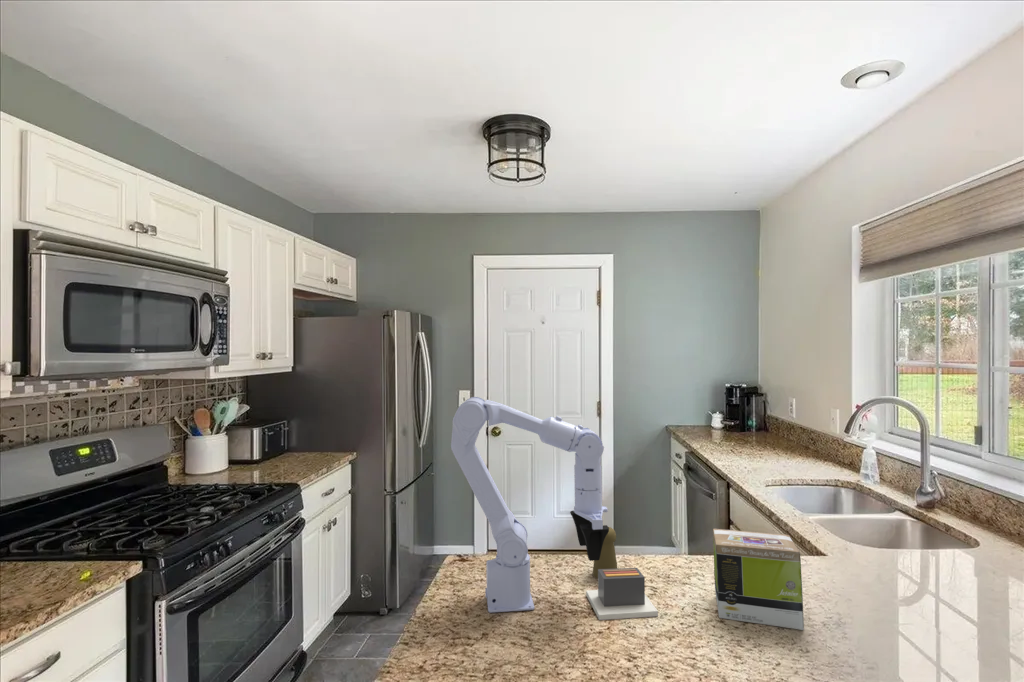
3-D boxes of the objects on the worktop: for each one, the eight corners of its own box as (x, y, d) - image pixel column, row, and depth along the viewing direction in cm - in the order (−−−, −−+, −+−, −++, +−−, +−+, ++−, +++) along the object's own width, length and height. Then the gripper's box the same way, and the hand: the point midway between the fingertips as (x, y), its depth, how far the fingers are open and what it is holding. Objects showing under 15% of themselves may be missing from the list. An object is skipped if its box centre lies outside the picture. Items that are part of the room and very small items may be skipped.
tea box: (792, 606, 100) (791, 533, 101) (804, 632, 91) (802, 552, 91) (713, 595, 105) (712, 526, 106) (717, 619, 96) (715, 543, 96)
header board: (599, 620, 96) (598, 602, 96) (586, 595, 106) (586, 578, 106) (658, 616, 97) (657, 598, 97) (639, 591, 107) (639, 575, 107)
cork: (618, 581, 112) (618, 533, 112) (592, 579, 113) (591, 531, 113) (618, 570, 118) (617, 524, 118) (593, 568, 119) (592, 522, 119)
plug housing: (604, 606, 99) (603, 577, 99) (598, 595, 103) (598, 568, 103) (644, 604, 100) (644, 576, 100) (637, 593, 104) (636, 566, 104)
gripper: (617, 496, 97) (618, 565, 96) (597, 478, 111) (598, 538, 111) (582, 497, 96) (583, 567, 95) (566, 479, 110) (567, 539, 110)
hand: (589, 552), depth 103 cm, fingers open, 7 cm apart
